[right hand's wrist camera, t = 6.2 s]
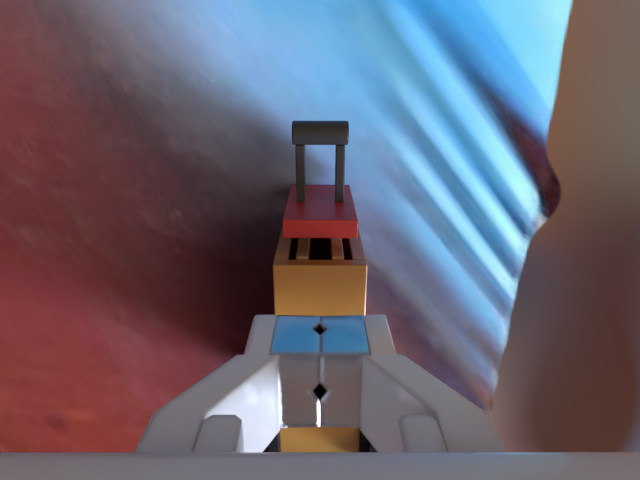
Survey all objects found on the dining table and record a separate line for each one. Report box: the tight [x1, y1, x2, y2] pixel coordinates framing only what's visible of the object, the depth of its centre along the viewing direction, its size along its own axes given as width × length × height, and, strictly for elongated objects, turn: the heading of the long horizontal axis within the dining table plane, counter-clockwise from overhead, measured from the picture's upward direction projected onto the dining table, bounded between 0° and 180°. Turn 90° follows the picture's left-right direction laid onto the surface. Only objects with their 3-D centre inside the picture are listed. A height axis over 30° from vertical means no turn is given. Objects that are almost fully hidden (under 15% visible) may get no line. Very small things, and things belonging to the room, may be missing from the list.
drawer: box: [282, 121, 358, 260], centre depth 33 cm, size 22×5×9 cm, turn 0°
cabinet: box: [273, 227, 367, 452], centre depth 35 cm, size 18×6×11 cm, turn 0°
